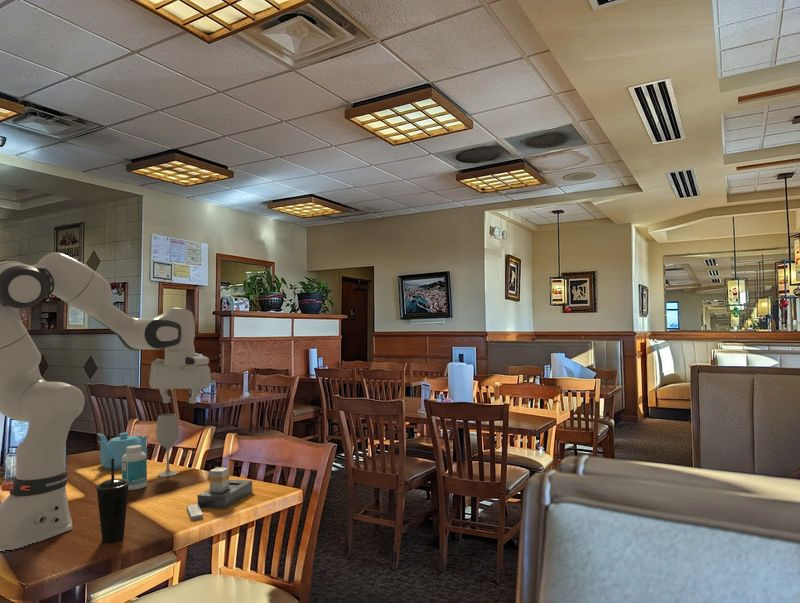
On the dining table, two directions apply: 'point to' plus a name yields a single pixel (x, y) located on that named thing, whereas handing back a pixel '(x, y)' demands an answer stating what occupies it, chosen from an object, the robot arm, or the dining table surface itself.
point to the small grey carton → (219, 480)
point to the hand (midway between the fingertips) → (179, 403)
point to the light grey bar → (194, 512)
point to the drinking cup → (112, 507)
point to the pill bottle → (134, 467)
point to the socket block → (225, 495)
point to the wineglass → (167, 437)
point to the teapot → (118, 448)
